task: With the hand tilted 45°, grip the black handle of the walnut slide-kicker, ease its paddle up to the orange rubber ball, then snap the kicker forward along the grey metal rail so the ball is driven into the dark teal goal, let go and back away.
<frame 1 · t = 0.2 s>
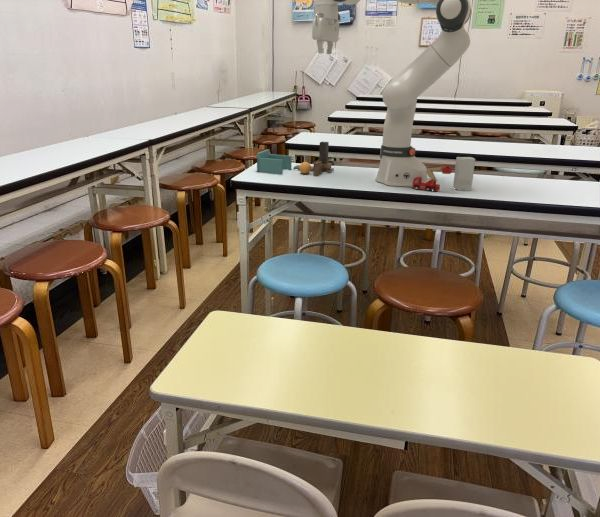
hand: (325, 53, 198), 48 cm above the table, tool pointing down, fingers open, 8 cm apart
toy fire truck: (430, 191, 191), on the table
ball: (305, 167, 215), point 2 cm above the table
slide kicker: (320, 158, 215), point 6 cm above the table, slide at 0.0 cm
goal: (273, 170, 221), on the table
skincare box: (461, 189, 194), on the table
kicker rail: (313, 170, 222), on the table
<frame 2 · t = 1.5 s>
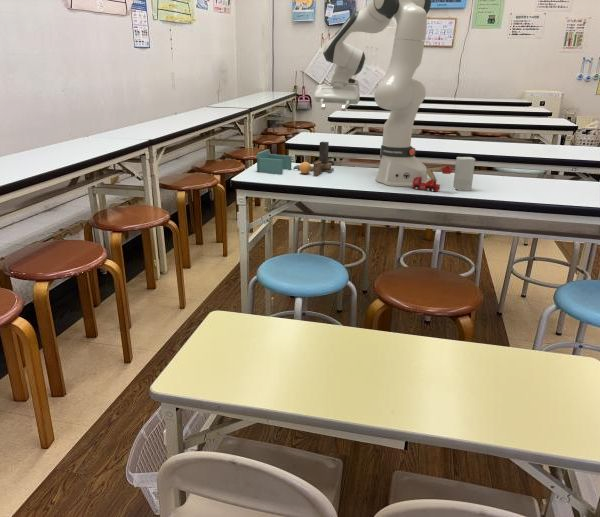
hand: (333, 109, 222), 25 cm above the table, tool tilted 45°, fingers open, 8 cm apart
nothing on the table moved.
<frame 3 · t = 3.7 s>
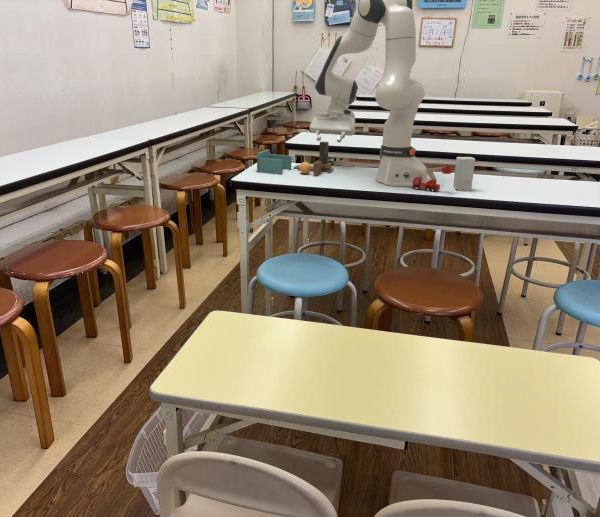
hand: (328, 140, 221), 12 cm above the table, tool tilted 45°, fingers open, 8 cm apart
nothing on the table moved.
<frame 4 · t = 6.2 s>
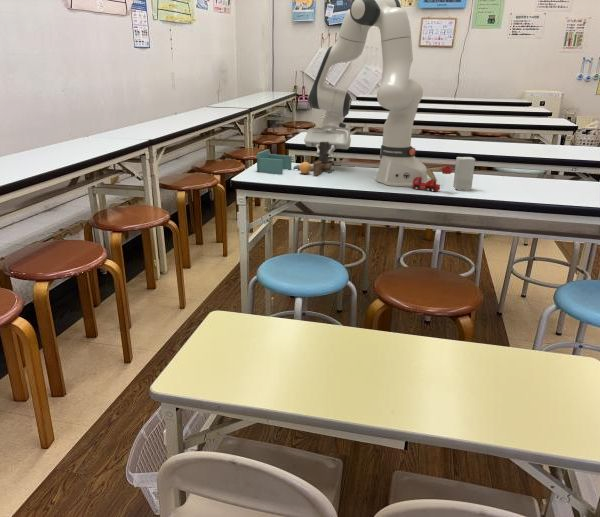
hand: (323, 154, 218), 7 cm above the table, tool tilted 45°, fingers closed on slide kicker, 3 cm apart
slide kicker: (320, 158, 215), point 6 cm above the table, slide at 0.0 cm, touching gripper
everything else where it was.
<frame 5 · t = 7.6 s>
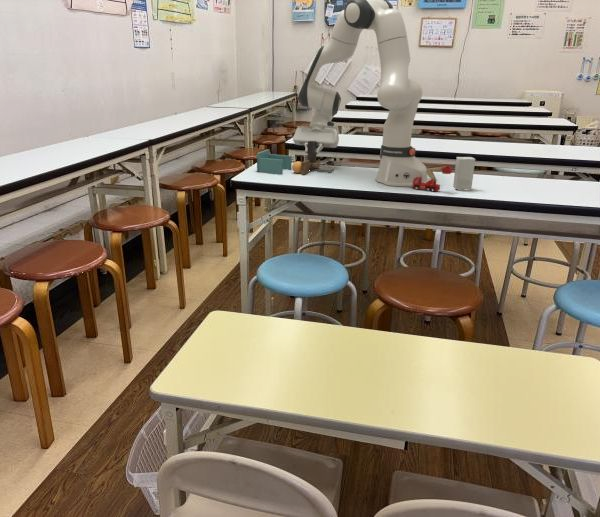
hand: (311, 152, 219), 8 cm above the table, tool tilted 45°, fingers closed on slide kicker, 3 cm apart
ball: (298, 167, 216), point 2 cm above the table, tilted 72°
slide kicker: (308, 157, 216), point 6 cm above the table, slide at 5.5 cm, touching gripper
everything else where it was.
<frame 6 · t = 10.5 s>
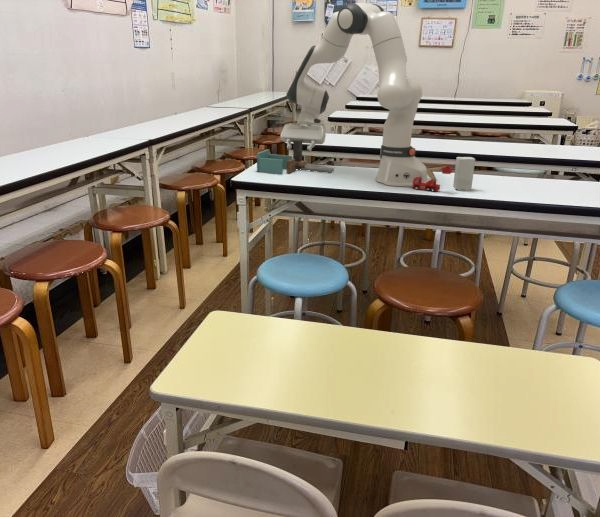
hand: (298, 149, 222), 8 cm above the table, tool tilted 45°, fingers open, 8 cm apart
ball: (275, 165, 219), point 2 cm above the table, tilted 47°
slide kicker: (293, 156, 219), point 6 cm above the table, slide at 12.1 cm
everything else where it was.
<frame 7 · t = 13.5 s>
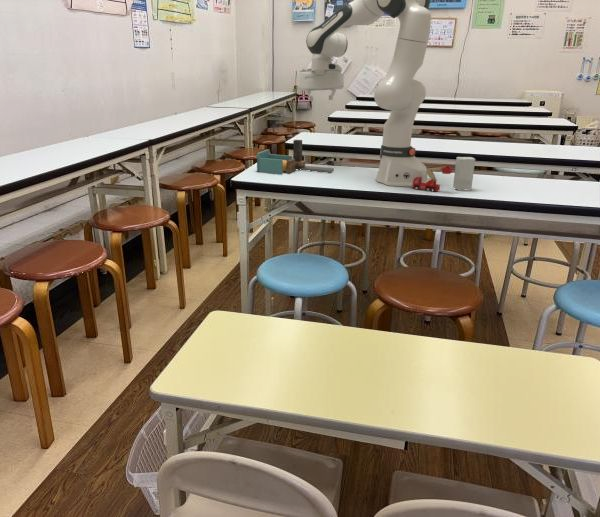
hand: (320, 100, 226), 28 cm above the table, tool pointing down, fingers open, 8 cm apart
ball: (283, 165, 218), point 2 cm above the table, tilted 136°
everything else where it was.
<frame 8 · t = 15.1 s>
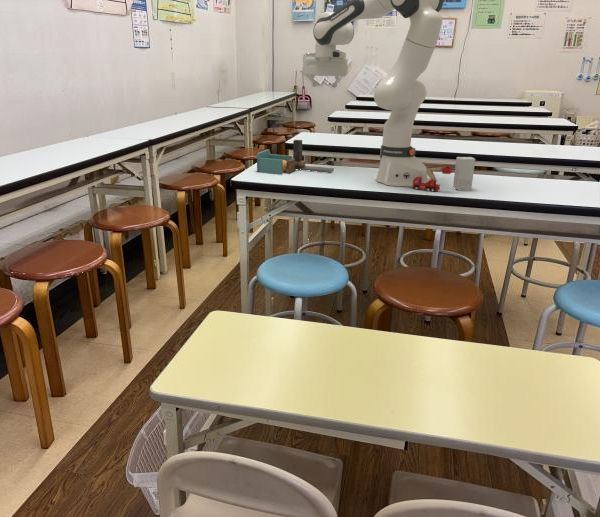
hand: (324, 86, 224), 34 cm above the table, tool pointing down, fingers open, 8 cm apart
nothing on the table moved.
at the end: ball inside the target area (4.1 cm from its centre), point 2.5 cm above the table; slide kicker slide at 12.1 cm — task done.
